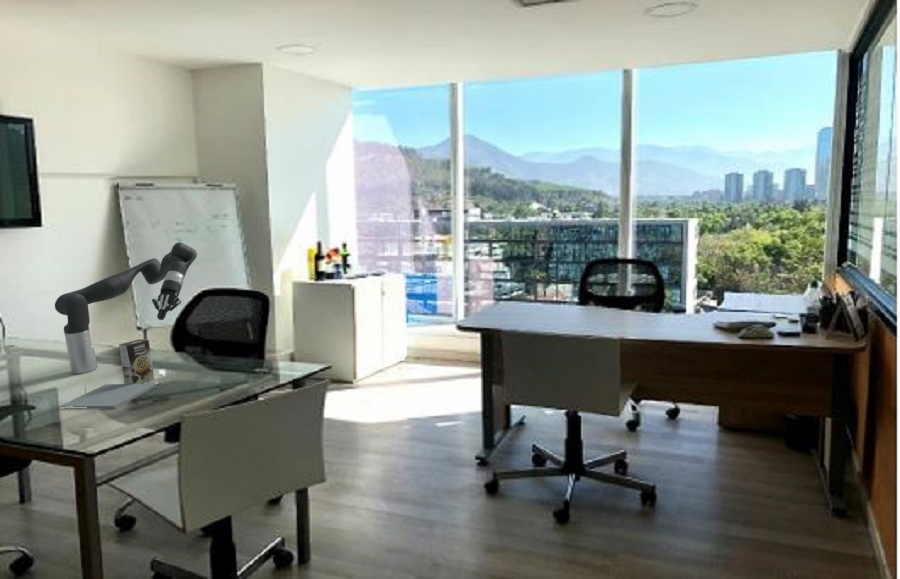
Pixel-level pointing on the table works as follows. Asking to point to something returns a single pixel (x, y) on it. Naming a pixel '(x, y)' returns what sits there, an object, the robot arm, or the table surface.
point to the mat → (110, 395)
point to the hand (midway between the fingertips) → (160, 319)
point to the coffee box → (136, 362)
